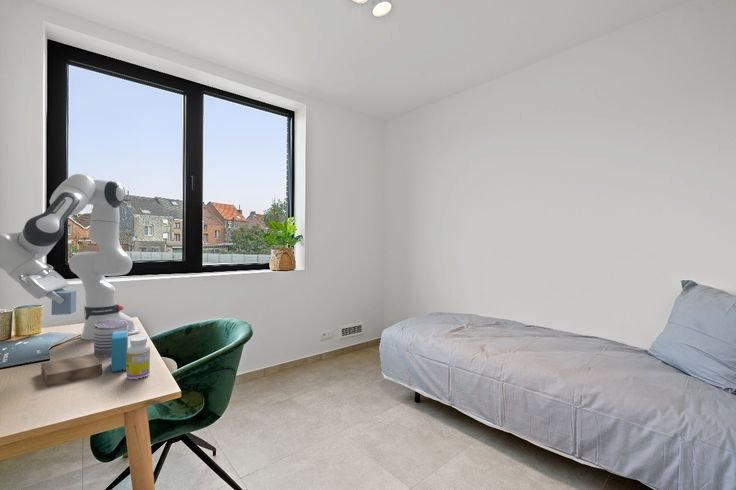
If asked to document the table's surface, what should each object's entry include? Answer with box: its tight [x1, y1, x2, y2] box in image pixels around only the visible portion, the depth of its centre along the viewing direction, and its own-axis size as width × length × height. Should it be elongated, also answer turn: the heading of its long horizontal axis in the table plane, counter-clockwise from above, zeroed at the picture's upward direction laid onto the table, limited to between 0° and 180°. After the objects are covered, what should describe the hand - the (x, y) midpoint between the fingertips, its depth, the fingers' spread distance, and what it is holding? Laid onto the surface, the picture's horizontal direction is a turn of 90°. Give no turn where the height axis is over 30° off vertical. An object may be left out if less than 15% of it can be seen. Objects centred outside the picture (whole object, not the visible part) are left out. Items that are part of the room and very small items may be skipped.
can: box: [93, 320, 129, 357], centre depth 142 cm, size 11×11×12 cm
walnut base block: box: [40, 353, 103, 387], centre depth 119 cm, size 14×14×4 cm
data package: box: [110, 330, 129, 373], centre depth 127 cm, size 12×4×12 cm, turn 34°
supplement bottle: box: [125, 336, 151, 380], centre depth 119 cm, size 7×7×13 cm
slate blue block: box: [51, 290, 77, 316], centre depth 124 cm, size 5×5×8 cm
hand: (66, 300), depth 124 cm, fingers closed on slate blue block, 5 cm apart
